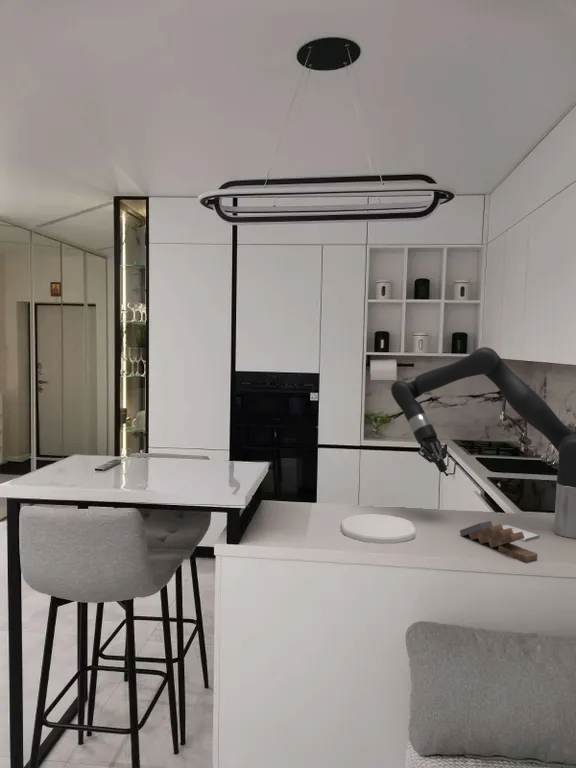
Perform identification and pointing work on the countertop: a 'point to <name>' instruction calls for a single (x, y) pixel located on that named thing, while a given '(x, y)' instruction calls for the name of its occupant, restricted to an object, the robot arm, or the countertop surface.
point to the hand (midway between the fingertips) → (444, 471)
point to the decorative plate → (378, 528)
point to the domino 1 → (475, 528)
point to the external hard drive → (526, 534)
